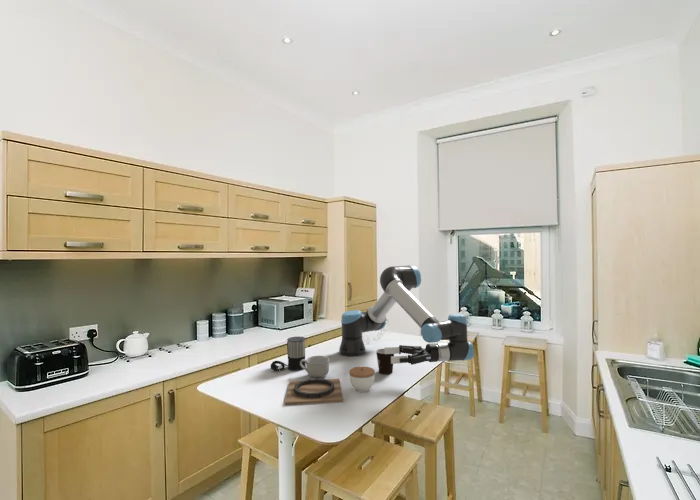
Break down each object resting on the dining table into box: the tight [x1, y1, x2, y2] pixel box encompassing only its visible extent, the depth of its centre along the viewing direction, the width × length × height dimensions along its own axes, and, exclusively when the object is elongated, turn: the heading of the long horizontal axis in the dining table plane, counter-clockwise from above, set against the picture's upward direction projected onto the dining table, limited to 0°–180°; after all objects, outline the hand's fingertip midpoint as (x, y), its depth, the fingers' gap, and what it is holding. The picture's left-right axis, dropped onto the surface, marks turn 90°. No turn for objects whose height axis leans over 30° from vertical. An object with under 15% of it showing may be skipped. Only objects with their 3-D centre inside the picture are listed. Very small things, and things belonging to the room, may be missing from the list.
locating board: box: [284, 377, 344, 406], centre depth 142 cm, size 22×22×2 cm
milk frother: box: [270, 336, 307, 372], centre depth 172 cm, size 14×16×15 cm
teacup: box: [300, 355, 330, 379], centre depth 161 cm, size 14×11×8 cm
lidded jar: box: [349, 366, 376, 393], centre depth 144 cm, size 11×11×9 cm
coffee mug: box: [375, 348, 395, 375], centre depth 165 cm, size 12×9×10 cm
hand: (387, 355), depth 144 cm, fingers open, 13 cm apart
